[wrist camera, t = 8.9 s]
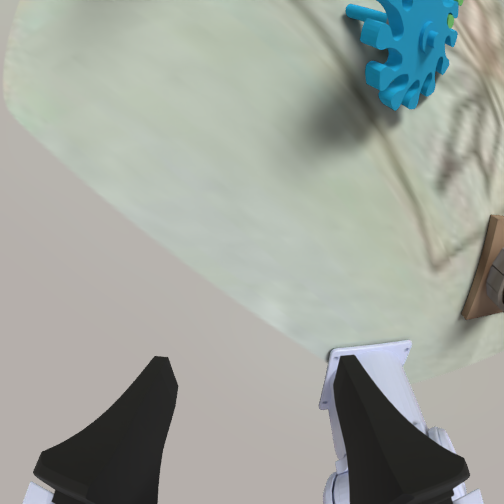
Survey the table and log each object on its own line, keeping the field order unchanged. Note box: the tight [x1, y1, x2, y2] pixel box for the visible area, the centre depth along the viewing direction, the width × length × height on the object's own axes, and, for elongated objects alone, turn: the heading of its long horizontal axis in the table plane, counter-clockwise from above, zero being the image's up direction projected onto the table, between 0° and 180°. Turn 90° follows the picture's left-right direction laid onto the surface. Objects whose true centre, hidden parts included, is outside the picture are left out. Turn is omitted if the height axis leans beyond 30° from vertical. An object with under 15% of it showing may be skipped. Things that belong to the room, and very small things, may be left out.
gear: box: [346, 0, 463, 111], centre depth 10 cm, size 11×6×10 cm
